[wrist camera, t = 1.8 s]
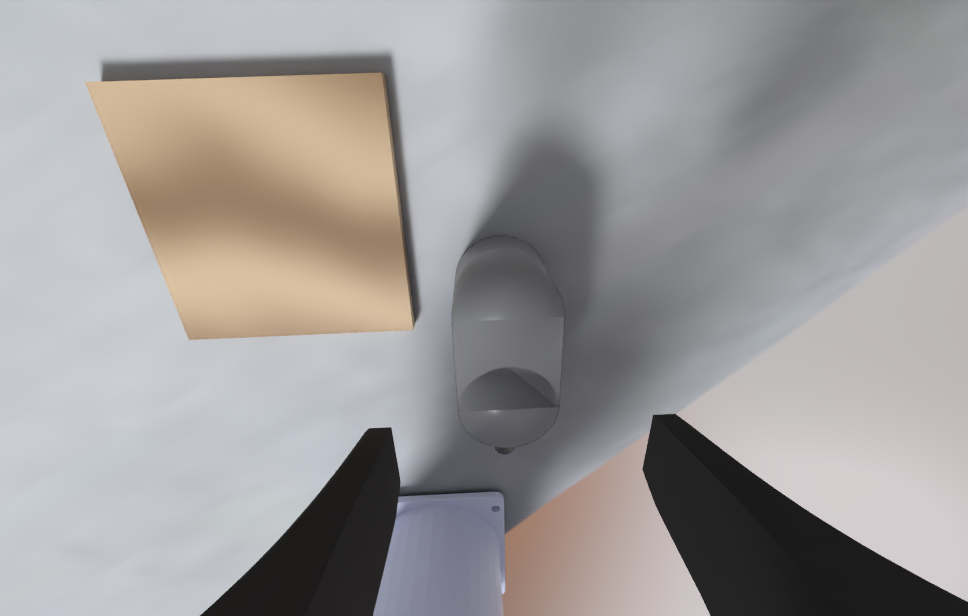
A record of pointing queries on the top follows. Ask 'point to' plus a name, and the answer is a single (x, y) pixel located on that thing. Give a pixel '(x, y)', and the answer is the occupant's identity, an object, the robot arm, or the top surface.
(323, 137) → the cork coaster
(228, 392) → the top surface
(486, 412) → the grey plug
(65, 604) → the top surface
